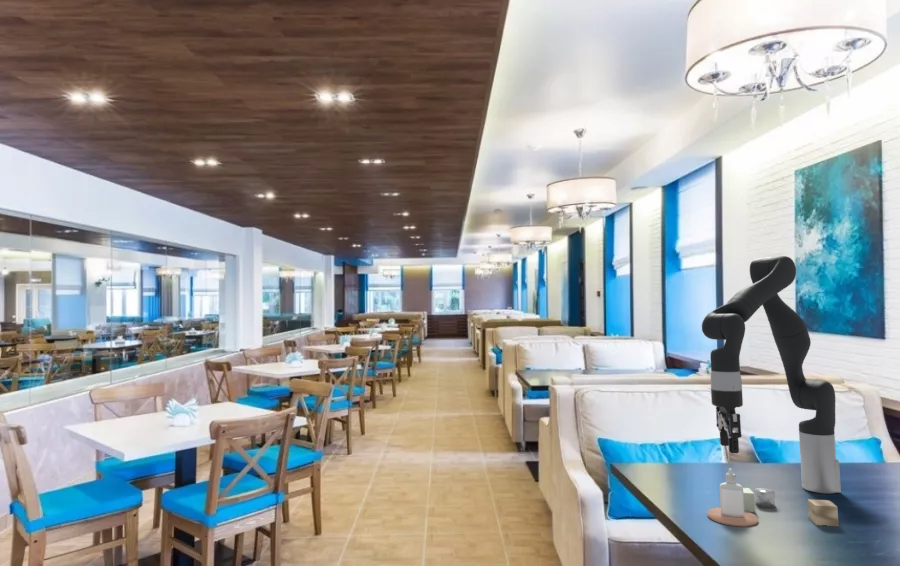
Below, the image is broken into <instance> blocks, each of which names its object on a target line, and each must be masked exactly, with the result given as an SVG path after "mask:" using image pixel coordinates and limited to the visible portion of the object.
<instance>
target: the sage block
mask: <svg viewBox="0 0 900 566" xmlns="http://www.w3.org/2000/svg"><path fill="white" fill-rule="evenodd" d="M743 495H744V511H747V512H750V513H756V505H755V493H754V491H752V490H751V488H749V487H743Z"/></svg>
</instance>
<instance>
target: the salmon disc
mask: <svg viewBox="0 0 900 566" xmlns="http://www.w3.org/2000/svg"><path fill="white" fill-rule="evenodd" d="M706 514H707V518H709V519H710V520H712V521H713V522H715V523H718V524H721V525H726V526H730V525H731V526H732V527H740V528H741V527H744V528H746V527H753V526H756V525H758V523H759V517H758V516H757V515H755V514H754V513H753V512H749V511H744V514H745V515H744V517H730V516H725V515H722V514H721V508H720V507H712V508H710V509H708V510H707V513H706Z"/></svg>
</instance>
